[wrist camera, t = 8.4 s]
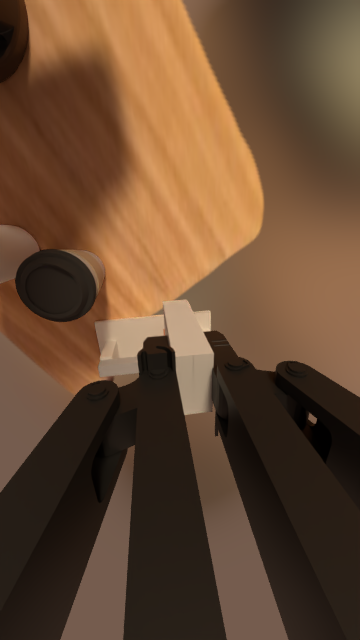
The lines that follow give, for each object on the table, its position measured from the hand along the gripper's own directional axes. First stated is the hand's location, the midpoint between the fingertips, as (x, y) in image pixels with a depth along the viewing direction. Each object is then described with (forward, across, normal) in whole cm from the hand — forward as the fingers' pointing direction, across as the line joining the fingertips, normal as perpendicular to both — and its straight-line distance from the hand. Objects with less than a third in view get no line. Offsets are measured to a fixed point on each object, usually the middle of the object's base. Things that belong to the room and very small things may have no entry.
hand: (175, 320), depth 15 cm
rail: (+29, -2, -16) cm, 33 cm away
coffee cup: (+29, -13, -1) cm, 32 cm away
